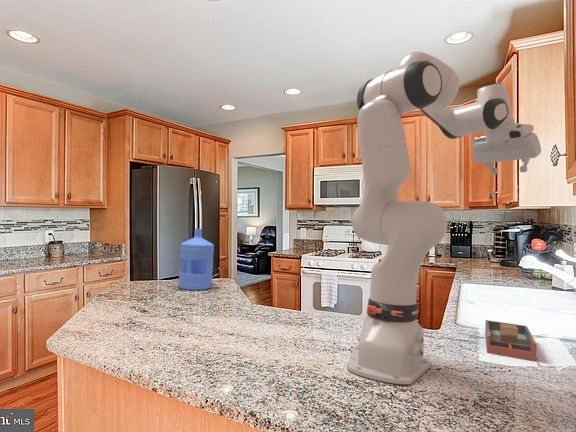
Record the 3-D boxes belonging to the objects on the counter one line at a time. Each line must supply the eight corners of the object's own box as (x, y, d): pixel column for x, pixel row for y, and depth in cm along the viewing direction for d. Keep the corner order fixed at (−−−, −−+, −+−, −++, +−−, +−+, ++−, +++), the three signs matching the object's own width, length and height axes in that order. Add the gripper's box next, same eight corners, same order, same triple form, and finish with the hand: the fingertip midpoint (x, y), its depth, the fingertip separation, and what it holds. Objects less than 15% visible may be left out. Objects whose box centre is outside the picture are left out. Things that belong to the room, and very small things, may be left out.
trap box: (536, 361, 92) (536, 343, 92) (486, 352, 97) (487, 335, 97) (526, 340, 110) (526, 325, 110) (485, 334, 115) (485, 320, 115)
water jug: (189, 283, 182) (192, 228, 182) (217, 286, 177) (220, 229, 178) (171, 288, 167) (174, 228, 167) (201, 291, 162) (205, 229, 163)
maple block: (517, 343, 100) (517, 328, 100) (500, 340, 102) (501, 326, 102) (515, 339, 104) (516, 325, 104) (499, 337, 105) (500, 323, 106)
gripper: (465, 141, 125) (474, 178, 129) (529, 130, 108) (538, 173, 111) (474, 135, 128) (483, 172, 132) (539, 124, 111) (547, 166, 114)
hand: (508, 172), depth 121 cm, fingers open, 8 cm apart
